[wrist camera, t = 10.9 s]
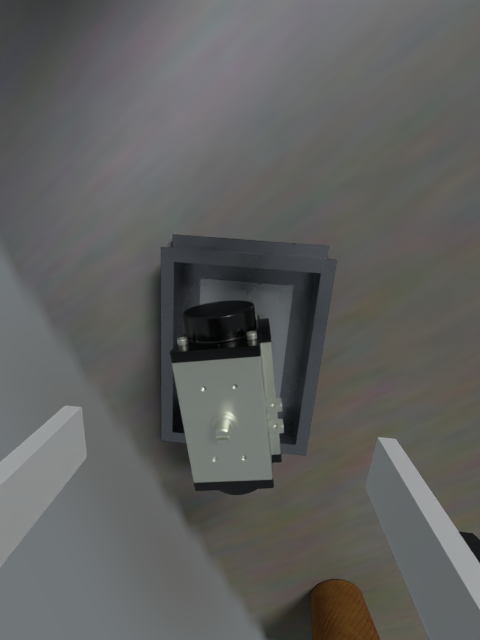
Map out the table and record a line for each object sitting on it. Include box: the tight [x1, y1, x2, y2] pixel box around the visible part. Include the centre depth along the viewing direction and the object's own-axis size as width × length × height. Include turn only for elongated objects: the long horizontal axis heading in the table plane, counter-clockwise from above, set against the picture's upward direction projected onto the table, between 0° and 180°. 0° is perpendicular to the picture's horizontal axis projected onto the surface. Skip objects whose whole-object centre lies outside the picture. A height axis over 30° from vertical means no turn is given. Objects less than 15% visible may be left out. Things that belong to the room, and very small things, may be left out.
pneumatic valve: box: [170, 300, 284, 495], centre depth 20 cm, size 6×12×12 cm, turn 6°
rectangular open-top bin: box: [161, 234, 337, 456], centre depth 25 cm, size 19×13×4 cm
